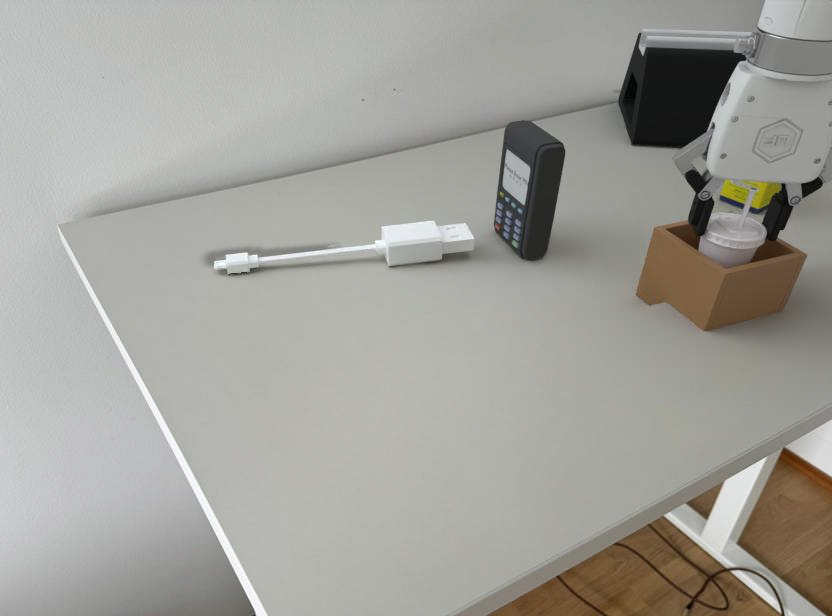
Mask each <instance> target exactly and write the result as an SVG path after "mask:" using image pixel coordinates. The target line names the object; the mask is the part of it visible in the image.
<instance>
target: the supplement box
mask: <svg viewBox="0 0 832 616" xmlns="http://www.w3.org/2000/svg"><path fill="white" fill-rule="evenodd" d="M751 188H756V189H757V190H756V193H755V195H754V198H753V201H752V204H751V207H750V209H749V213H753V214H756V215H757V214H760V213H761V212H763V211H765V210H767V208H768V205H769V203H770V200H771V198H772V196H773V195H774V194H775V193H779V191H780V183H768V182H751V181H735V180H725V181H724V182H723V184H722V188H721V191H720V195H719V199H718V201H720V202H723V203H726V204H729V205H731V206H734V207H736V208H739V209H742V210H743V208H744V206H745V203H746V200H747V197H748V194H749V192H750V189H751Z"/></svg>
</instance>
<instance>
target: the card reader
mask: <svg viewBox="0 0 832 616" xmlns="http://www.w3.org/2000/svg"><path fill="white" fill-rule="evenodd" d="M503 132H504V133H503V141H502V149H501V158H500V166H499V176H498V183H497V190H496V201H495V209H494V210H495V211H494V219H493V228H494V232H495V233H496V234H497V235H498V236H499V237H500V239H502V240H503V241H504V242H505V243H506V244H507V245H508V246H509V247H510V248H511V249H512V250H513V251H514V252H515V253H516V254H517V255H518V256H519V257H520V258H522V259H525V260H527V261H530V260H535V259H542V258H543V257H545V256H546V254H547V252H548V249H549V245H550V240H551V234H552V230H553V224H554V220H555V213H556V208H557V203H558V197H559V192H560V187H561V181H562V176H563V170H564V163H565V159H566V148H565V145H564V143H563V142H562V141H560V139H558V138H556V137H554V135H551V134H550V133H549V132H547V131H546V130H545V129H543V128H542V127H541V126H538V125H537V124H535V123H534V122H533V121H531V120H523V119H522V120H515V121H510V122H509V123H508V124H506V126H505V128H504V131H503Z"/></svg>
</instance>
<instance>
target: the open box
mask: <svg viewBox="0 0 832 616" xmlns="http://www.w3.org/2000/svg"><path fill="white" fill-rule="evenodd" d="M724 213H735V214H737V213H736V212H735V211H734V210H733V211H732V210H730V211H725V212H724ZM700 238H701V236H696V235H695V232H694V230H693V228H692V225H691V224H689V222H688V219H687V220H682V221H677V222H672V223H667V224H663V225H656V226H654V227H653V230H652V233H651V238H650V241H649V245H648V248H647V252H646V255H645V258H644V263H643V266H642V269H641V272H640V277H639V279H638V280H639V281H638V284H637V288H636V291H635V295H636V296H637V297H638V298H639V299H641V301H643V302H645V304H646V305H648V306H656V305H659V304H663V303H667V304H668V305H669V306H671V308H673V309H675V310H676V311H677V312H678V313H680V314H681V315H682V316H683V317H685V318H686V319H688V320H689V321H690V322H691V323H692V324H694V325H695V326H697V328H699V329H700V330H701V331H703V332H707V331H710V330H716V329H718V328H722V327H726V326H730V325H734V324H737V323H741V322H746V321H749V320H753V319H756V318H757V319H758V318H761V317H765V316H768V315H773V314H777V313H781V312H783V311H784V310H785V307H786V305H787V303H788V301H789V298H790V297H791V294H792V292H793V289H794V287H795V285H796V283H797V280H798V278H799V276H800V274H801V272H802V269H803V267H804V265H805V262H806V260H807V258H808V253H806V252H804V251H802V250H801V249H799V248H797V247H795V246H793V245H792V244H790V243H788V242H787V241H785V240H783V239H781V238H780V237H779V236H778V237H777V240H776V241H769V240H768V239H767V238H765V242H764V243H763V244H762V245H761V246H759V247H758V248H757V250H756V252H755V254H754V256H753V258H752V259H751V261H750V263H749V264H745V265H741V266H736V267H732V268H728V269H725V268H723V267H722V266H720V265H719V264H717V263H716V262H714V261H713V260H711V259H710V258H708V257H707V256H705V255H704V254H702V253H701V252H699V251H698V249H699V243H700Z"/></svg>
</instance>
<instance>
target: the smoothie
mask: <svg viewBox="0 0 832 616" xmlns="http://www.w3.org/2000/svg"><path fill="white" fill-rule="evenodd" d="M756 190H757V189H756V188H751V189H750V192H749V194H748V197H747V200H746V203H745V206H744V208H743V209H742V211H741V214H740V213H736V212H734V213H725V212H715V213H711V216H710V219H709V222H708V225H707V228H706V231H705V234H704V235H702V236H701V238H700V243H699V249H698V251H699V252H701V253H702V254H704V255H705V256H707V257H708V258H710V259H711V260H713V261H714V262H716V263H717V264H719V265H720V266H722V267H723V268H725V269H728V268H732V267H736V266H741V265H745V264H749V263H750V261H751V259H752V258H753V256H754V254H755V252H756V250H757V248H758V247H759V246H761V245H762V244H763V243H764V242H765V238H766V235H767V229H766V228H765V226H764V225H763V224H762V222H760V221H758V220H757V219H755V218H752V217H751V216H748V215H749V213H750V211H749V209H750V207H751V204H752V201H753V198H754V195H755V193H756ZM735 213H736V214H735Z"/></svg>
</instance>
